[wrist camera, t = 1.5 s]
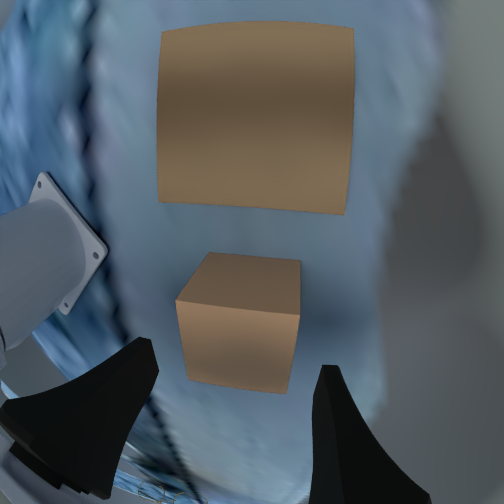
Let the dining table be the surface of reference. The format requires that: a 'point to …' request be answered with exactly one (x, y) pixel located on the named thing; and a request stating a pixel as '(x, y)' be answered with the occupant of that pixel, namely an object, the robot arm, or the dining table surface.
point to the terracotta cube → (241, 321)
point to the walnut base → (256, 115)
